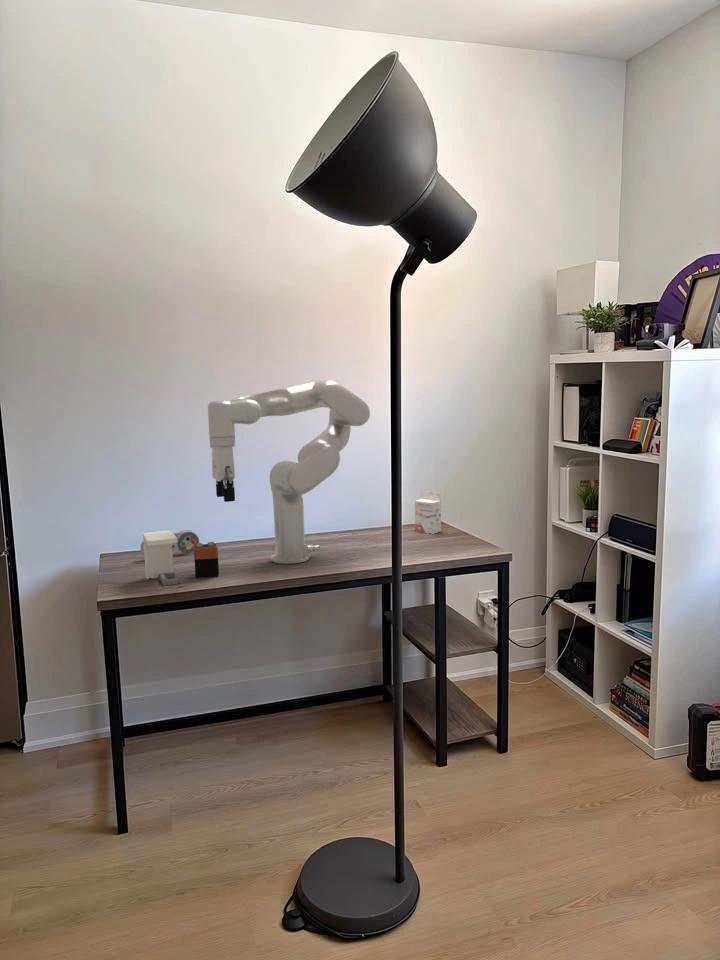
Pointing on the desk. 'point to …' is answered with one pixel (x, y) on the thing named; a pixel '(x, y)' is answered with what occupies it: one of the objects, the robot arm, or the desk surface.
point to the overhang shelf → (159, 556)
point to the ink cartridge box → (428, 513)
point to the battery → (206, 560)
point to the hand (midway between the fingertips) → (225, 498)
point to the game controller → (182, 542)
